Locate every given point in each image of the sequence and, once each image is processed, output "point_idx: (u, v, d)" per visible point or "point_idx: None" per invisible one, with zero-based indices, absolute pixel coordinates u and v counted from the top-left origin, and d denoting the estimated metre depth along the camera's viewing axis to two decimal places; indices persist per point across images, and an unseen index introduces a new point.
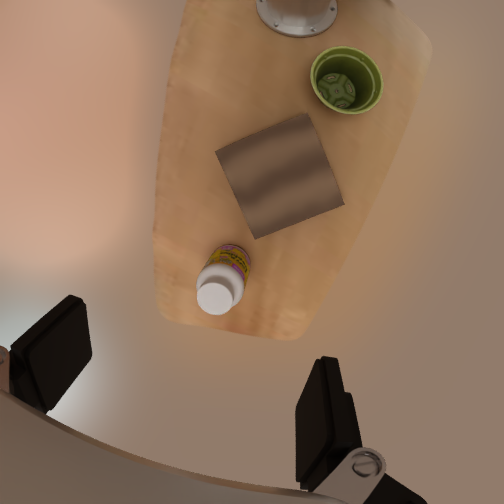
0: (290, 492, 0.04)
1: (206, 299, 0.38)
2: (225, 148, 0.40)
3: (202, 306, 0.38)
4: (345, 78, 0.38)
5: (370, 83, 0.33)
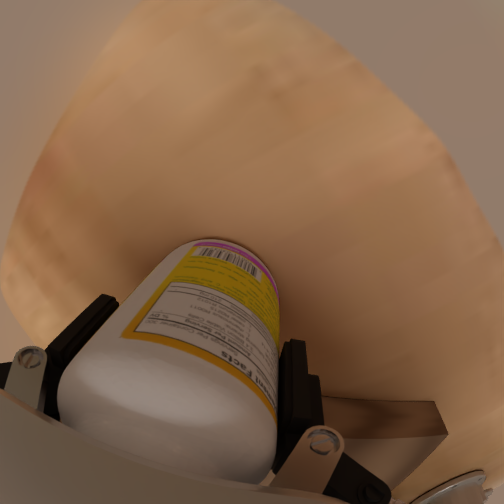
0: (290, 492, 0.04)
1: None
2: (434, 447, 0.15)
3: None
4: None
5: None
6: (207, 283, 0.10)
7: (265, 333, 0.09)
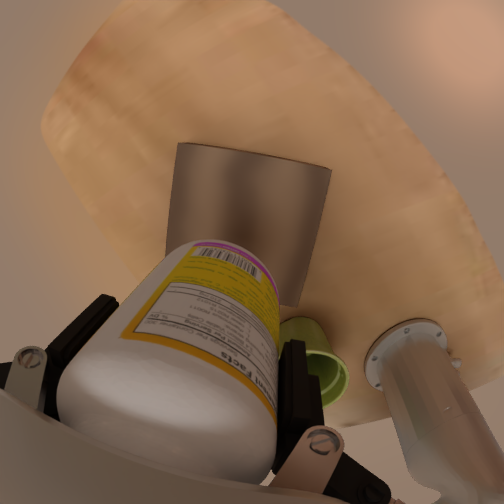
0: (290, 492, 0.04)
1: None
2: (325, 186, 0.26)
3: None
4: None
5: None
6: (206, 283, 0.10)
7: (265, 334, 0.09)
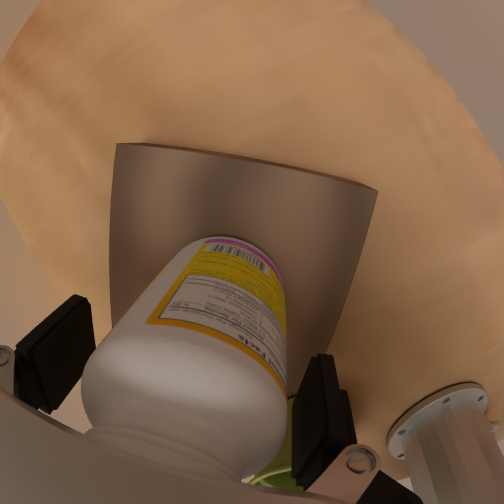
0: (290, 492, 0.04)
1: None
2: (366, 219, 0.15)
3: None
4: None
5: (284, 482, 0.20)
6: (221, 276, 0.11)
7: (275, 321, 0.10)
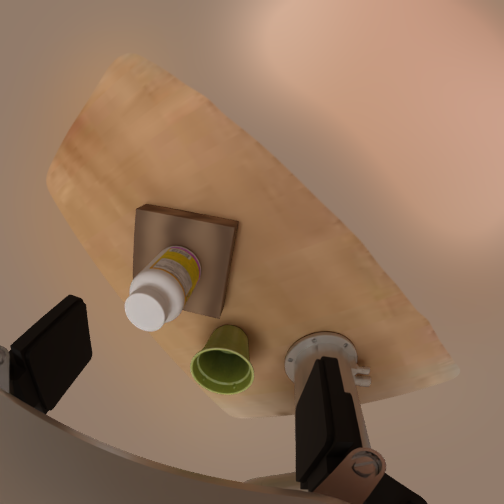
0: (290, 492, 0.04)
1: (146, 305, 0.29)
2: (230, 238, 0.39)
3: (141, 296, 0.29)
4: None
5: (214, 376, 0.45)
6: (171, 258, 0.35)
7: (185, 272, 0.35)
